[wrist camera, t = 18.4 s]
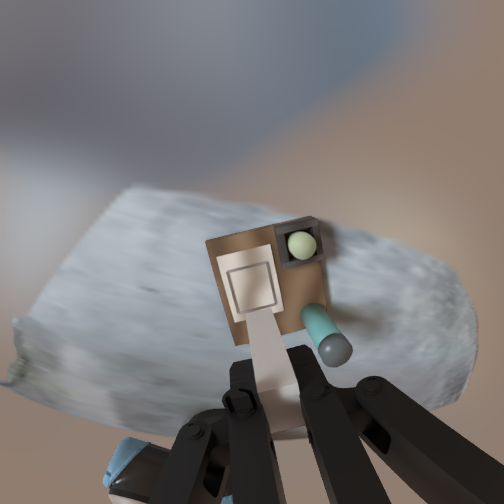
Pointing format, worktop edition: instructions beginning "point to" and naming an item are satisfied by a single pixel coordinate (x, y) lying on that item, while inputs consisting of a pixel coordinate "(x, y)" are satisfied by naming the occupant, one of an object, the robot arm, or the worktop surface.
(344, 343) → the marker
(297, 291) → the clipboard
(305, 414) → the robot arm
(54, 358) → the worktop surface
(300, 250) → the button
